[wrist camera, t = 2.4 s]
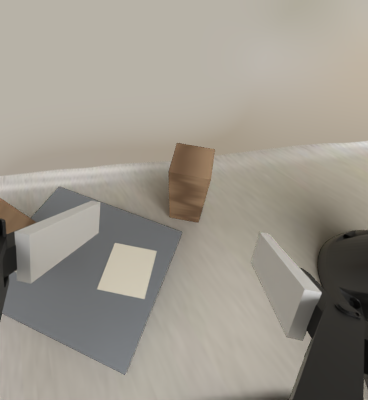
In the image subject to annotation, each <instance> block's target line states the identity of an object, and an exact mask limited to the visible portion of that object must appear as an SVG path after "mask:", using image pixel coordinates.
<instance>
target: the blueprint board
mask: <svg viewBox="0 0 368 400" xmlns="http://www.w3.org/2000/svg"><path fill="white" fill-rule="evenodd" d="M89 201H96V202H100V201H97V200H95V199H92V198H89V197H86V196H84V195H81V194H78V193H76V192H73V191H70V190H67V189H65V188H62V187H58V188H57V190H56V191H55V192H54V193H53V194H52V195H51V196H50V197H49V198H48V200H47V201H46V202H45V203H44V204H43V205H42V206H41V207H40V208H39V210H38V211H37V212H36V213H35V214H34V215H33V216H32V217H31V219H32V220H34V221H35V222H39V221H42V220H45V219H47V218H50V217H52V216H55V215H57V214H60V213H62V212H65V211H67V210H70V209H72V208H75V207H77V206H80V205H82V204H84V203H87V202H89ZM181 235H182V232H181V231H178V230H176V229H173V228H170V227H168V226H165V225H162V224H160V223H157V222H154V221H151V220H149V219H146V218H143V217H141V216H138V215H135V214H132V213H130V212H127V211H124V210H122V209H119V208H116V207H114V206H111V205H108V204H105V203H103V202H101V203H100V219H99V233H98V234H96V235H95V236H94V237H92V238H91V239H90V240H88V241H87V242H86V243H84V244H83V245H82V246H80V247H79V248H78V249H76V250H75V251H74V252H72V253H71V254H70V255H68V256H67V257H66V258H64V259H63V260H62V261H60V262H59V263H58V264H56V265H55V266H54V267H52V268H51V269H50V270H48V271H47V272H46V273H44V274H43V275H42V276H40V277H39V278H38V279H36V280H35V281H34V282H32V283H26V282H21V281H17V272H16V271H15V272H13V273H12V274H10V275H9V285H8V290H7V294H6V298H5V302H4V307H3V311H2V314H4V315H6V316H8V317H10V318H12V319H14V320H16V321H18V322H20V323H22V324H24V325H26V326H28V327H30V328H32V329H34V330H36V331H38V332H40V333H42V334H44V335H46V336H48V337H50V338H52V339H54V340H56V341H58V342H60V343H62V344H64V345H66V346H68V347H70V348H72V349H74V350H76V351H78V352H80V353H82V354H84V355H86V356H88V357H90V358H92V359H94V360H96V361H98V362H100V363H102V364H104V365H106V366H108V367H110V368H112V369H114V370H116V371H118V372H120V373H122V374H124V375H125V374H126V373H127V371H128V368H129V366H130V363H131V361H132V358H133V356H134V353H135V351H136V348H137V346H138V343H139V341H140V338H141V336H142V333H143V331H144V328H145V326H146V323H147V320H148V318H149V315H150V313H151V310H152V308H153V305H154V303H155V300H156V298H157V295H158V293H159V290H160V288H161V285H162V283H163V280H164V278H165V275H166V273H167V270H168V268H169V265H170V263H171V260H172V258H173V255H174V252H175V250H176V247H177V245H178V242H179V240H180V237H181Z"/></svg>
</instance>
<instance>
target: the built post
mask: <svg viewBox="0 0 368 400" xmlns="http://www.w3.org/2000/svg"><path fill="white" fill-rule="evenodd" d="M0 218H1V219H4V220H5V221H6V234H9V233H11V232H14V231H16V230H19V229H21V228H24V227H26V226H29V225H31V224H34V223H36V222H35V221H34V220H32V219H31V218H29V217H28V216H26V215H25V214H23V213H22V212H20V211H19V210H17V209H16V208H14V207H13V206H11V205H10V204H8V203H7V202H5V201H4V200H2V199H1V198H0Z"/></svg>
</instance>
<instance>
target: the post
mask: <svg viewBox="0 0 368 400" xmlns="http://www.w3.org/2000/svg"><path fill="white" fill-rule="evenodd" d="M214 152H215V149H210V148H204V147H198V146H192V145H186V144H180V143H177V145H176V148H175V151H174V155H173V159H172V162H171V165H170V169H169V214H170V217H171V218H176V219H182V220H187V221H192V222H199V219H200V215H201V212H202V208H203V205H204V202H205V198H206V195H207V191H208V188H209V184H210V181H211V175H212V168H213V160H214Z"/></svg>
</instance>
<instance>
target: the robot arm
mask: <svg viewBox="0 0 368 400" xmlns="http://www.w3.org/2000/svg"><path fill="white" fill-rule="evenodd" d="M100 203H101V202H96V201H89V202H87V203H84V204H82V205H80V206H77V207H75V208H72V209H70V210H67V211H65V212H62V213H60V214H57V215H55V216H52V217H50V218H47V219H45V220H42V221H39V222H36V223H34V224H31V225H29V226H26V227H24V228H21V229H19V230H16V231H14V232H11V233H9V234H6V221H5V220H4V219H1V218H0V320H1V315H2V311H3V307H4V302H5V298H6V294H7V290H8V285H9V275H10V274H12V273H13V272H15V271H16V272H17V281H21V282H26V283H32V282H34V281H35V280H36V279H38V278H39V277H40V276H42V275H43V274H44V273H46V272H47V271H48V270H50V269H51V268H52V267H54V266H55V265H56V264H58V263H59V262H60V261H62V260H63V259H64V258H66V257H67V256H68V255H70V254H71V253H72V252H74V251H75V250H76V249H78V248H79V247H80V246H82V245H83V244H84V243H86V242H87V241H88V240H90V239H91V238H92V237H94V236H95V235H96V234H98V233H99V219H100ZM251 264H252V266H253V268H254V270H255V272H256V274H257V276H258V278H259V280H260V283H261V285H262V287H263V289H264V291H265V293H266V295H267V297H268V299H269V301H270V303H271V305H272V307H273V310H274V312H275V314H276V316H277V318H278V320H279V322H280V324H281V326H282V328H283V330H284V332H285V335H286V337H288V338H293V339H298V340H302V341H303V339H304V336H305V334H306V331H308V333H309V334H310V336H311V338H312V339H311V341H310V344H309V346H308V349H307V351H306V353H305V356H304V360H303V363H302V366H301V368H300V371H299V374H298V376H297V379H296V382H295V385H294V387H293V390H292V393H291V395H290V398H289V400H363V383H364V379H365V382H366V385H367V388H368V230H357V231H349V232H345V233H342V234H340V235H338V236H336V237H334V238H332V239H330V240H328V241H327V242H326V243H325V244H324V245H323V247H322V248H321V251H320V253H319V257H318V271H319V276H320V280H321V283H322V285H323V287H322V286H320V284H319V283H318V282H317V281H315V279H314V278H313V277H312V276H311V275H310V274H309V273H308V272H306V271H305V270H304V269H302V268H299V267H298V265H297V264H296V263H295V262H294V261H293V260H292V259H291V258H290V257H289V255H288V254H287V253H286V252H285V251H284V250H283V249H282V248H281V246H280V245H279V244H278V243H277V242H276V241H275V240H274V239H273V238H272V236H271V235H270V234H268V233H262V232H259V235H258V239H257V243H256V246H255V250H254V253H253V257H252V260H251Z"/></svg>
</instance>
